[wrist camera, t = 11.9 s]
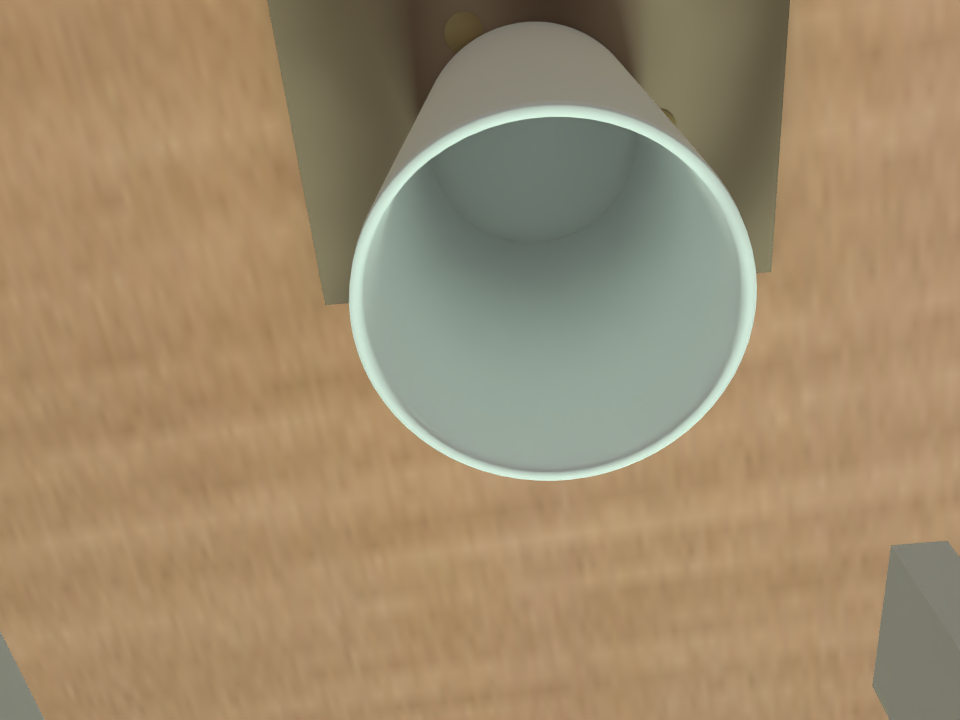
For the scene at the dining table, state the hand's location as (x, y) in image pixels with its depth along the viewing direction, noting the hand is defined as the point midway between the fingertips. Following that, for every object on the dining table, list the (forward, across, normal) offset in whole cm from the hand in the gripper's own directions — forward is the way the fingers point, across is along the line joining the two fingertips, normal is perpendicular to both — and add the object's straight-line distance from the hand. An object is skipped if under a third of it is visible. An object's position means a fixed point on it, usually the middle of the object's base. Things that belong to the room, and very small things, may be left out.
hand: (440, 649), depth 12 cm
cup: (+22, +3, +2) cm, 23 cm away
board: (+23, +3, +2) cm, 24 cm away
